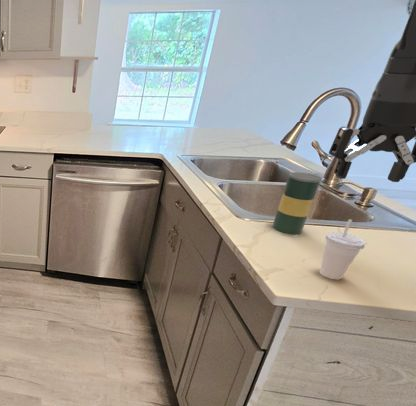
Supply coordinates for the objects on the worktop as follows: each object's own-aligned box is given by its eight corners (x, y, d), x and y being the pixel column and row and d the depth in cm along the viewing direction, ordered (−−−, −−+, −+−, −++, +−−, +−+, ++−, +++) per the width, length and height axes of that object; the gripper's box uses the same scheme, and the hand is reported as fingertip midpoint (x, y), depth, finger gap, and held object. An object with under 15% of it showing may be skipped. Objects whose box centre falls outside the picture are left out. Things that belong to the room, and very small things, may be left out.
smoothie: (327, 265, 88) (349, 213, 82) (357, 281, 82) (382, 226, 77) (304, 269, 87) (325, 216, 81) (333, 284, 81) (357, 229, 76)
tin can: (306, 231, 104) (327, 177, 97) (293, 236, 101) (313, 182, 95) (279, 221, 110) (297, 170, 103) (266, 226, 107) (283, 174, 100)
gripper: (364, 100, 67) (333, 182, 74) (468, 101, 63) (425, 188, 69) (341, 95, 74) (314, 171, 80) (434, 95, 70) (398, 176, 76)
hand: (366, 179), depth 75 cm, fingers open, 8 cm apart
